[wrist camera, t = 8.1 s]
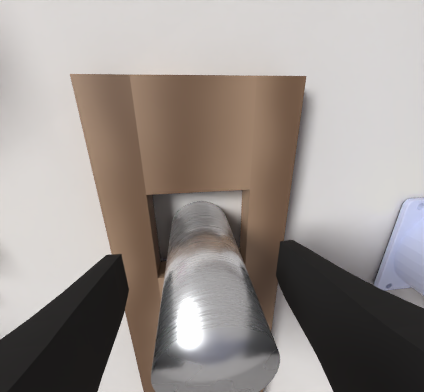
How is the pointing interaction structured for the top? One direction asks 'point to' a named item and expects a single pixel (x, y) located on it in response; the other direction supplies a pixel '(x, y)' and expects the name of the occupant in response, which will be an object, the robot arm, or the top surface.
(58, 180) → the top surface
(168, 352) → the steel rod
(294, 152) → the walnut board
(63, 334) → the robot arm
